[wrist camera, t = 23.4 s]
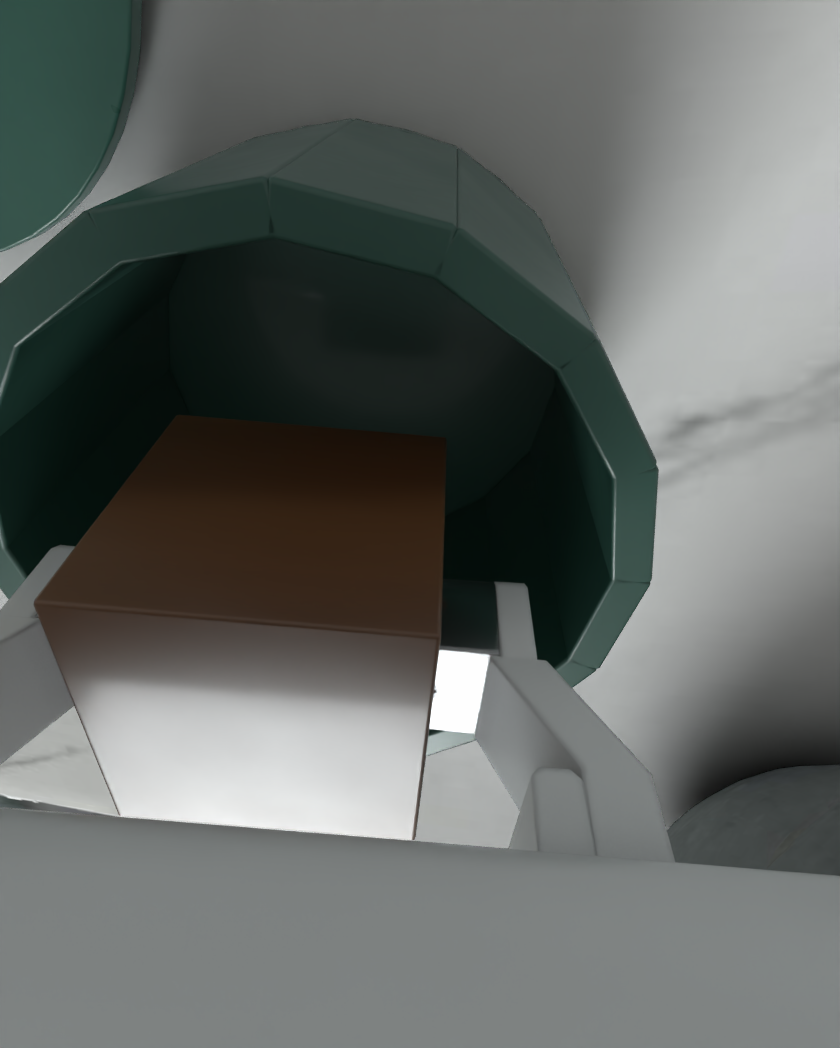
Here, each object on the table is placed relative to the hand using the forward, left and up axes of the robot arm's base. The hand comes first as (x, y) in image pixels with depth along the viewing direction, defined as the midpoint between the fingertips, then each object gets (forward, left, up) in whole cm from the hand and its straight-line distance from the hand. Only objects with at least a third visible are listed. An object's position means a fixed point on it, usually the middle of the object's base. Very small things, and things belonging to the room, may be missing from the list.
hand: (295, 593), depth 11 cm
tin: (0, 0, -9) cm, 9 cm away
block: (0, 0, -2) cm, 2 cm away
